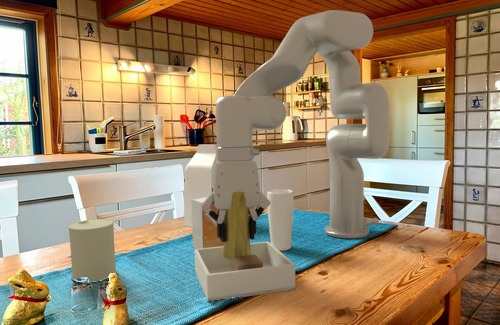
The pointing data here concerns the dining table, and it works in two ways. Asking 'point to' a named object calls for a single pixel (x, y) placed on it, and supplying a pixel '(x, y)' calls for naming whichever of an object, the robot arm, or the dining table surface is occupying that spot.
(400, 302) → the dining table surface
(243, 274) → the box
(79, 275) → the can
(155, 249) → the dining table surface
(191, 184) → the milk
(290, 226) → the drinking glass
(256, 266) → the walnut cube
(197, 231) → the small box
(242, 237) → the vase
